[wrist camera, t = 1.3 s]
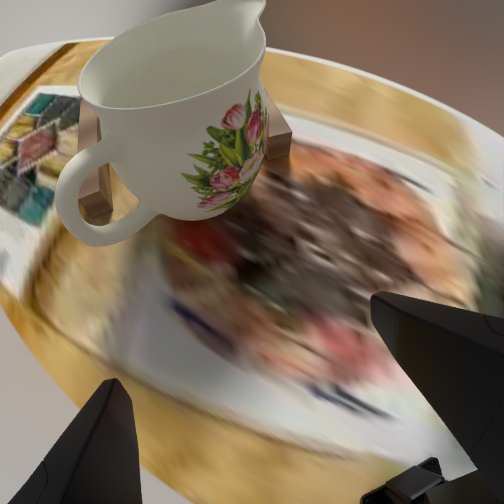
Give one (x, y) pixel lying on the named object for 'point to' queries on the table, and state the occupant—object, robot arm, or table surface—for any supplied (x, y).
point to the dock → (98, 182)
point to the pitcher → (174, 117)
